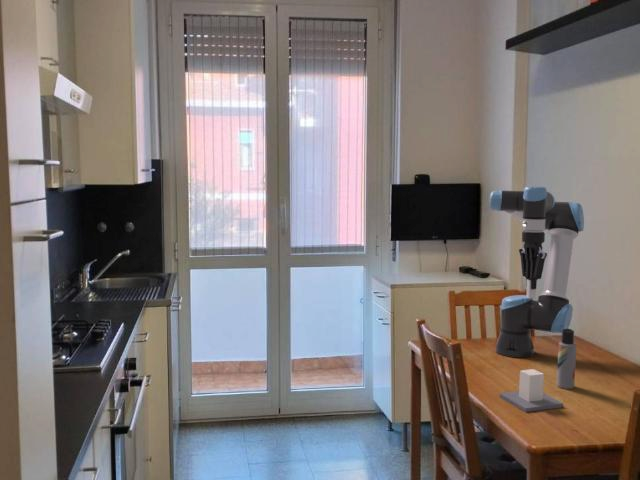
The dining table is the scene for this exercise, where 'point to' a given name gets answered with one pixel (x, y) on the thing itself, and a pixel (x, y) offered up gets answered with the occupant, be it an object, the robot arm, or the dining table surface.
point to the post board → (531, 406)
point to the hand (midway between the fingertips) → (530, 297)
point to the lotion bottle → (566, 360)
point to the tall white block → (531, 385)
